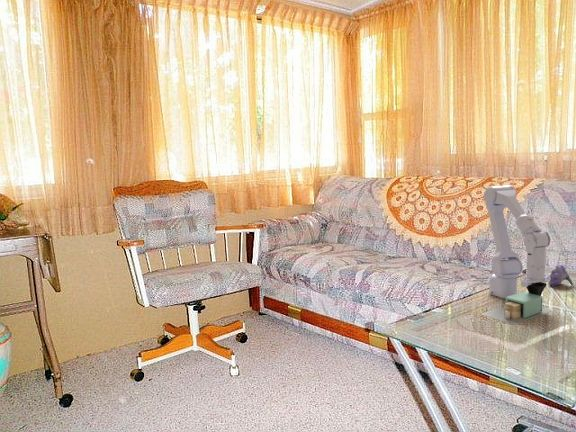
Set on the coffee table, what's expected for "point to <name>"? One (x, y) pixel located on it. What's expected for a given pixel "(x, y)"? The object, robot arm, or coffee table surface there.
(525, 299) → the block
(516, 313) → the brown block
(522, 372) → the coffee table surface
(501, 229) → the robot arm
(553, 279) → the flower
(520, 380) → the coffee table surface
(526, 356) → the coffee table surface
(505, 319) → the base
